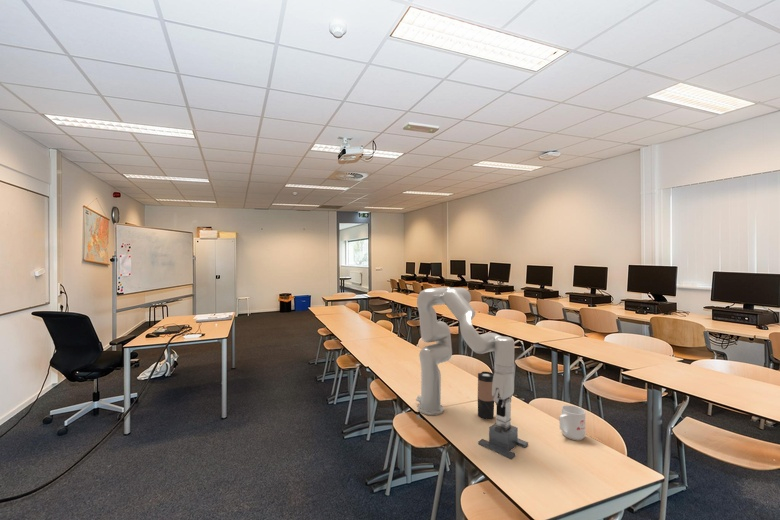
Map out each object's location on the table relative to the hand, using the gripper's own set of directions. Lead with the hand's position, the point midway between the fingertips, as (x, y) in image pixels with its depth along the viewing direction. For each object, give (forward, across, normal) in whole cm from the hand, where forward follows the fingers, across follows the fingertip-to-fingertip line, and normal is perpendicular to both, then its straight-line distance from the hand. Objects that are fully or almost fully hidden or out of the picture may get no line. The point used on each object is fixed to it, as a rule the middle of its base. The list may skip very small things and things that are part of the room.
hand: (503, 413), depth 136 cm
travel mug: (+13, -17, -18) cm, 28 cm away
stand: (+13, 0, 0) cm, 13 cm away
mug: (+13, -27, +16) cm, 34 cm away
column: (+10, 0, 0) cm, 10 cm away
